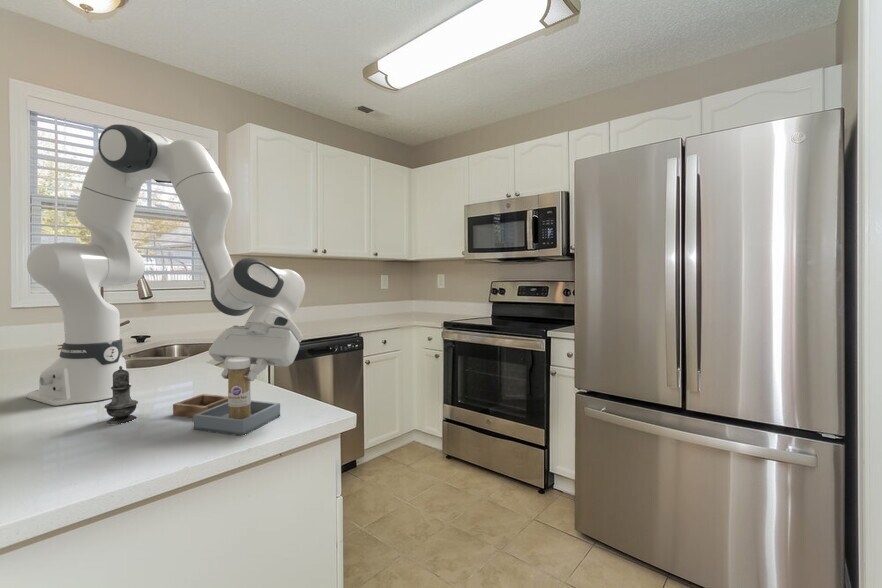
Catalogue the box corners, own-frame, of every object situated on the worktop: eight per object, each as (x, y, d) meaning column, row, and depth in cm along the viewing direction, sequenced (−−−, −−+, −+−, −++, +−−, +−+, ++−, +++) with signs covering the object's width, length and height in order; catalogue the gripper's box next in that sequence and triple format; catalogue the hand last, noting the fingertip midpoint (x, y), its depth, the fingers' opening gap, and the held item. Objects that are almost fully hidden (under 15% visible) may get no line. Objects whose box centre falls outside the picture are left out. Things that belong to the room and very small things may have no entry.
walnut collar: (173, 415, 96) (172, 404, 96) (203, 403, 104) (203, 393, 104) (204, 419, 94) (204, 407, 93) (232, 407, 102) (232, 396, 102)
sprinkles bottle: (227, 424, 89) (226, 361, 88) (228, 417, 93) (227, 356, 92) (251, 421, 91) (250, 359, 90) (251, 414, 95) (250, 355, 94)
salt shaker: (120, 426, 89) (119, 369, 88) (97, 423, 90) (95, 367, 89) (145, 416, 94) (144, 363, 94) (123, 414, 96) (122, 362, 95)
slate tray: (193, 429, 87) (193, 415, 87) (235, 411, 99) (235, 398, 99) (243, 435, 84) (242, 421, 84) (280, 416, 96) (280, 403, 96)
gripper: (221, 317, 100) (188, 367, 91) (298, 320, 95) (270, 373, 86) (235, 333, 104) (205, 382, 95) (309, 337, 99) (284, 389, 90)
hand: (236, 378), depth 91 cm, fingers closed on sprinkles bottle, 4 cm apart
